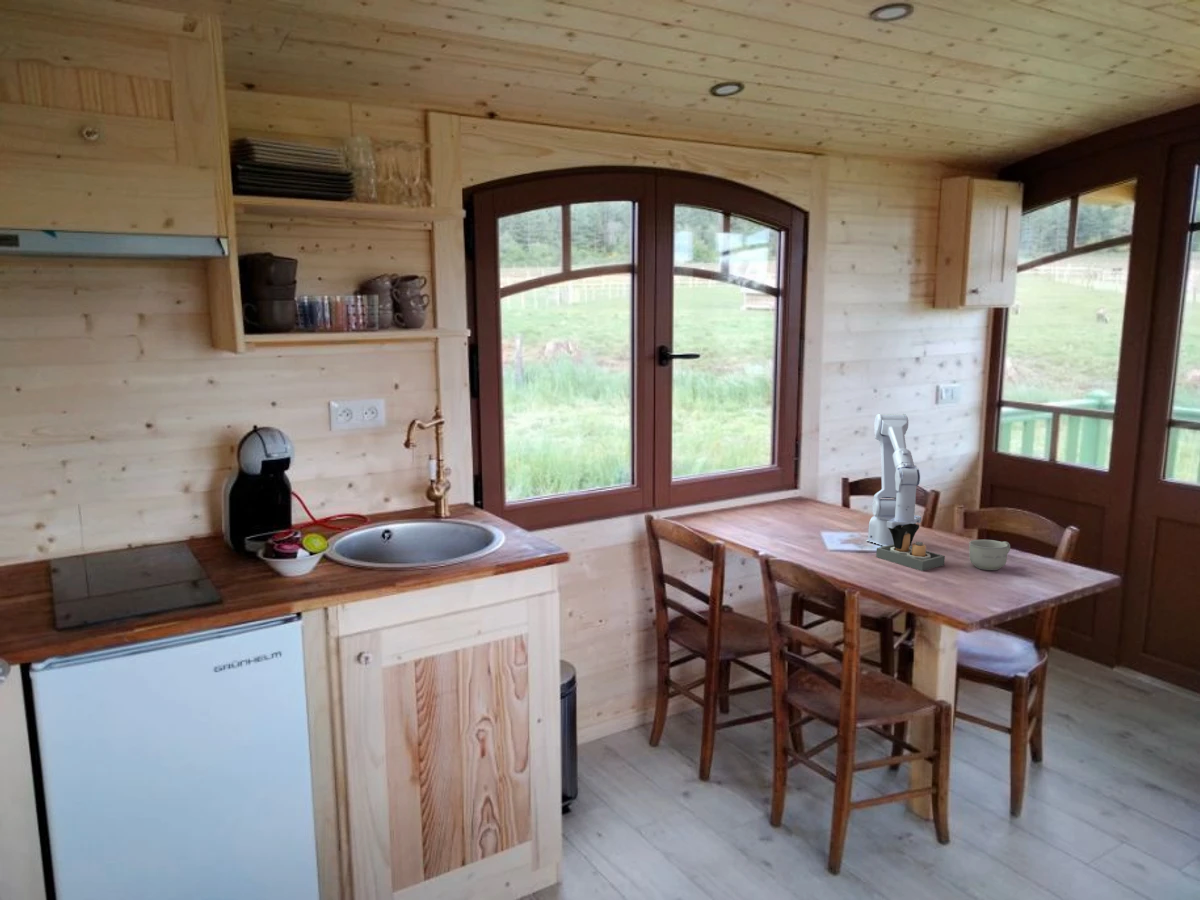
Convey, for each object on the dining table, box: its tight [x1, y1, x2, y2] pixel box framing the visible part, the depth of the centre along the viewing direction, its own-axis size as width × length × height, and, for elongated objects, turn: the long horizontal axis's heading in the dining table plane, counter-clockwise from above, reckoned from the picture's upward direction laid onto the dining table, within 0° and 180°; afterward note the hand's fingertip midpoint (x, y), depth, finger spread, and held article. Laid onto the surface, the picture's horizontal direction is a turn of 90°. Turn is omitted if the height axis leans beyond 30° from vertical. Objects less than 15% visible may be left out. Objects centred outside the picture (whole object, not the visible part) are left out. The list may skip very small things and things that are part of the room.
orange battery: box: [896, 531, 910, 552], centre depth 263 cm, size 4×4×7 cm
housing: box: [875, 541, 946, 572], centre depth 261 cm, size 17×11×7 cm, turn 33°
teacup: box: [968, 539, 1011, 571], centre depth 255 cm, size 14×11×8 cm
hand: (902, 546), depth 263 cm, fingers closed on orange battery, 4 cm apart
